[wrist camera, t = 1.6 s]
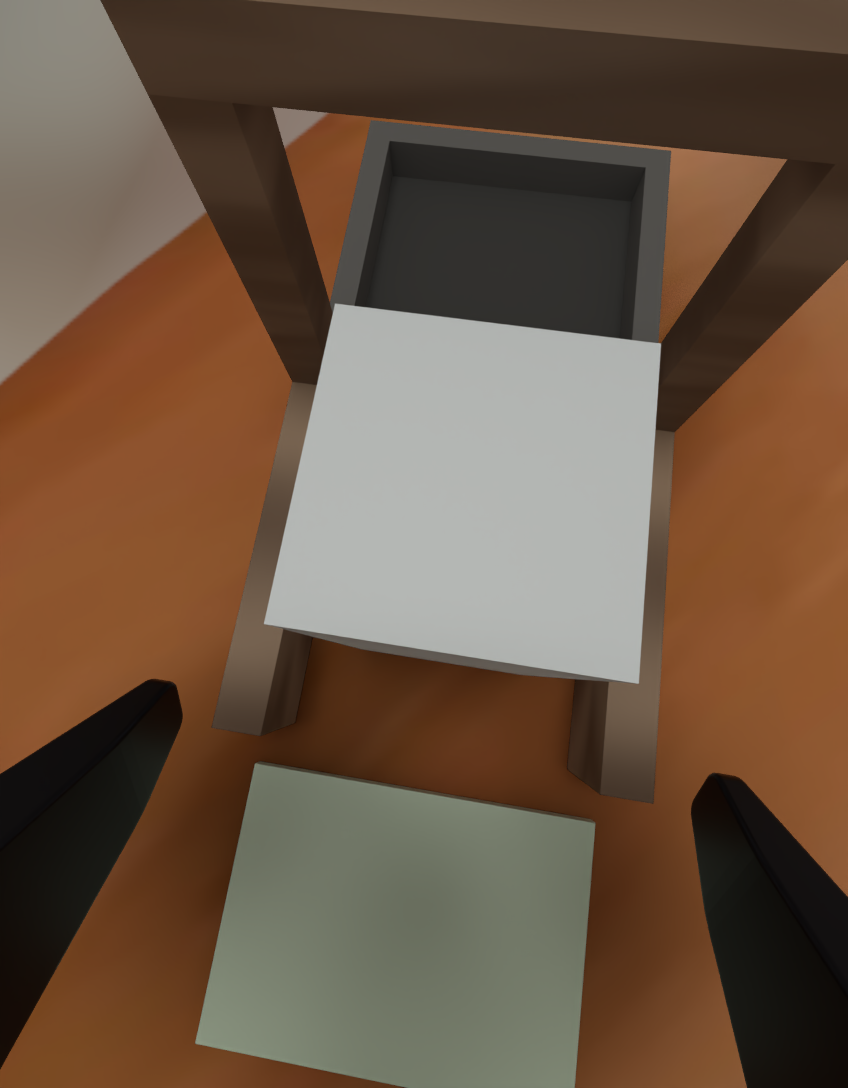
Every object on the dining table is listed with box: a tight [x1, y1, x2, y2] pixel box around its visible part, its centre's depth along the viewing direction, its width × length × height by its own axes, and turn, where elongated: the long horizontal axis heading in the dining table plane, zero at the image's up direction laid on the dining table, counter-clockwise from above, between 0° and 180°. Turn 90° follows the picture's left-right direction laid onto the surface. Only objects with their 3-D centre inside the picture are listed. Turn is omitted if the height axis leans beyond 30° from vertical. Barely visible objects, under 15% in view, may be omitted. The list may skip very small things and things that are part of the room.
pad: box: [195, 761, 595, 1088], centre depth 18 cm, size 8×12×1 cm
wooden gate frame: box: [101, 0, 848, 804], centre depth 14 cm, size 13×13×15 cm
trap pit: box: [330, 120, 671, 343], centre depth 23 cm, size 11×13×2 cm
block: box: [264, 304, 661, 684], centre depth 15 cm, size 6×6×12 cm
